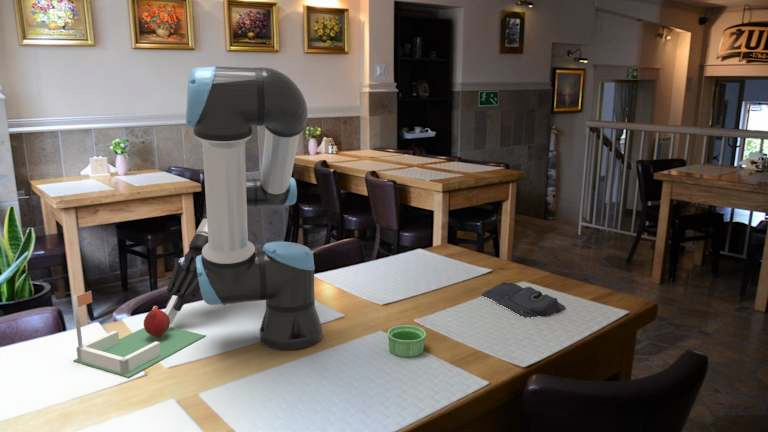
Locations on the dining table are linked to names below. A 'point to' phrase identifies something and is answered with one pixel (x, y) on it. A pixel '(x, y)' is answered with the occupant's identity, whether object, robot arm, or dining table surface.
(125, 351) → the felt mat
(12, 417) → the dining table surface
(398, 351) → the ramekin
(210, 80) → the robot arm
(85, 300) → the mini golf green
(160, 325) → the onion
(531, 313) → the dark grey lumpy slab
